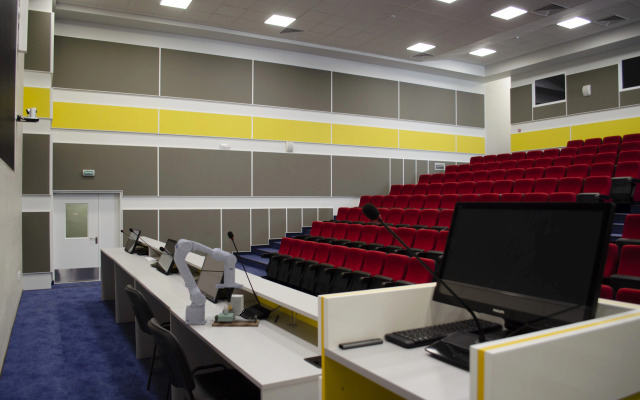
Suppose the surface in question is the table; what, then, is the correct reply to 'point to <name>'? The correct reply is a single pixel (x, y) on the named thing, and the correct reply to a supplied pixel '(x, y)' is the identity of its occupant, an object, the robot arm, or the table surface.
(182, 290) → the table surface
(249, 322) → the rail bed
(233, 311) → the gauge cabinet
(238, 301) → the small box
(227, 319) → the carriage
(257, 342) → the table surface
